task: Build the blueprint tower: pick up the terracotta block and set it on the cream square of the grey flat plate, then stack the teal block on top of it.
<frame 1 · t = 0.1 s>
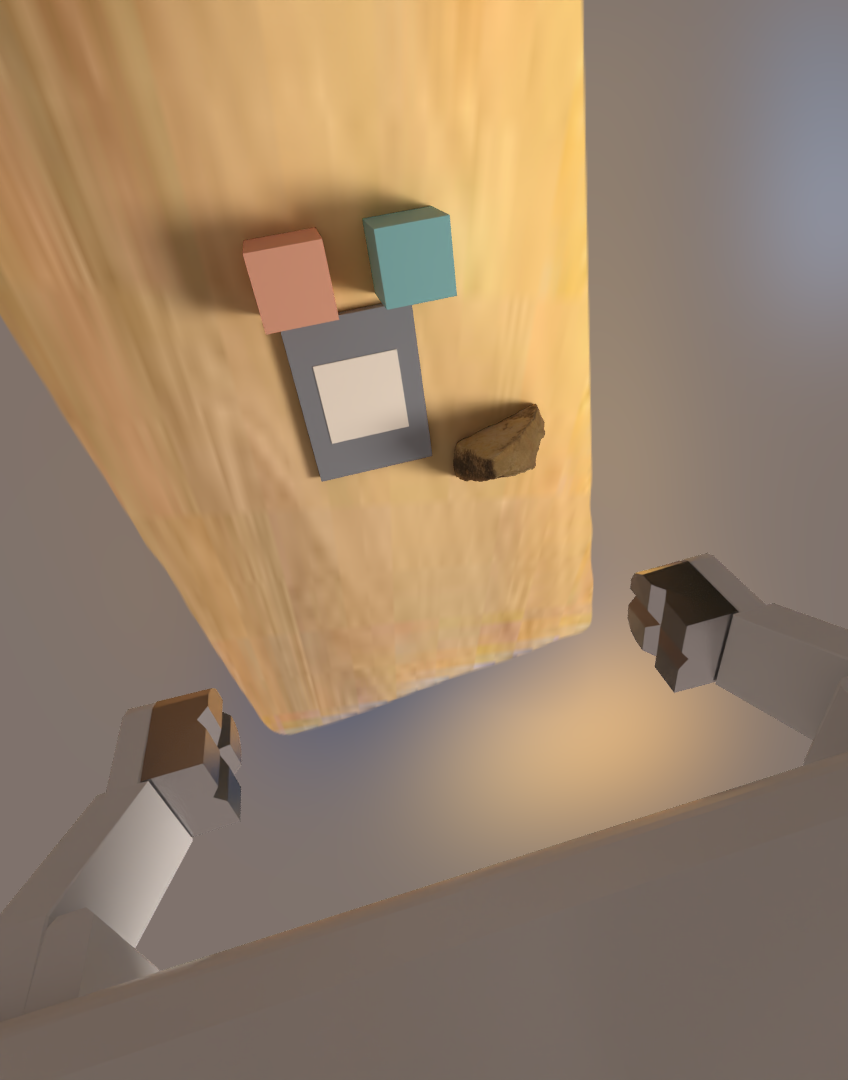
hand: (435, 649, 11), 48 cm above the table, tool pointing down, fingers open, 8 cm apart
terracotta block: (289, 272, 50), on the table
teal block: (402, 250, 52), on the table
grey flat plate: (361, 394, 58), on the table
rock: (495, 437, 65), on the table
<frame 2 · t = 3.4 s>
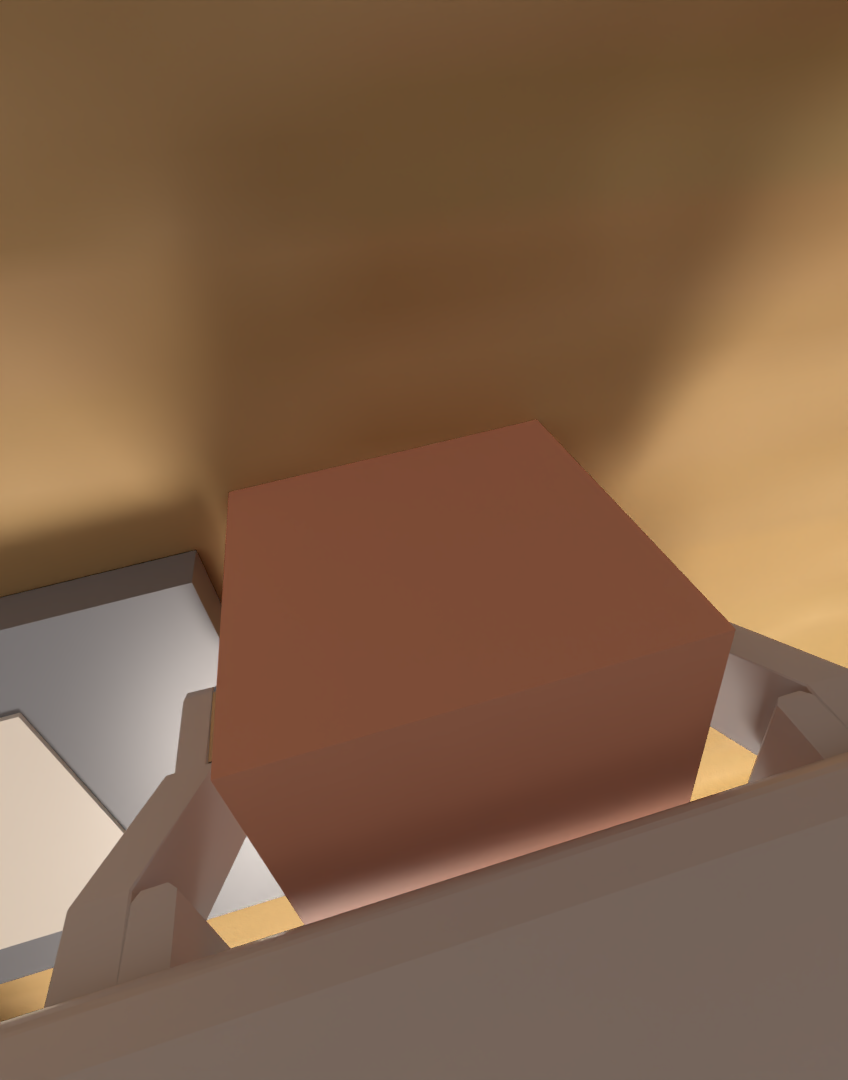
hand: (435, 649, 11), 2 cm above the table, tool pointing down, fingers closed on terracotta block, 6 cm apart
terracotta block: (410, 572, 13), on the table, touching gripper
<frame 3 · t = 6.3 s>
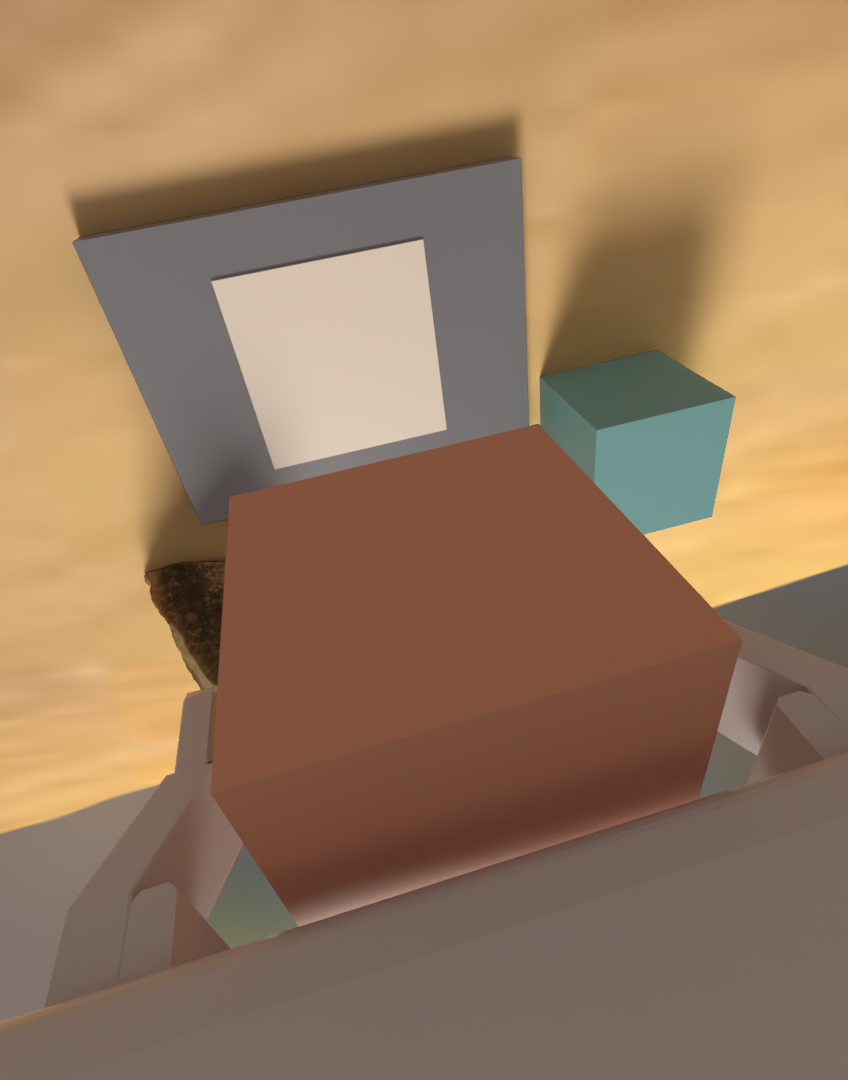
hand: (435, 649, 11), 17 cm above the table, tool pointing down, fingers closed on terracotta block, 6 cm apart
terracotta block: (411, 578, 13), point 15 cm above the table, touching gripper
teal block: (595, 419, 30), on the table
grey flat plate: (339, 355, 25), on the table
rock: (247, 621, 33), on the table
when the fingers open (5 cm above the table, at t = 9.2 s): terracotta block drops 1 cm, resting on grey flat plate.
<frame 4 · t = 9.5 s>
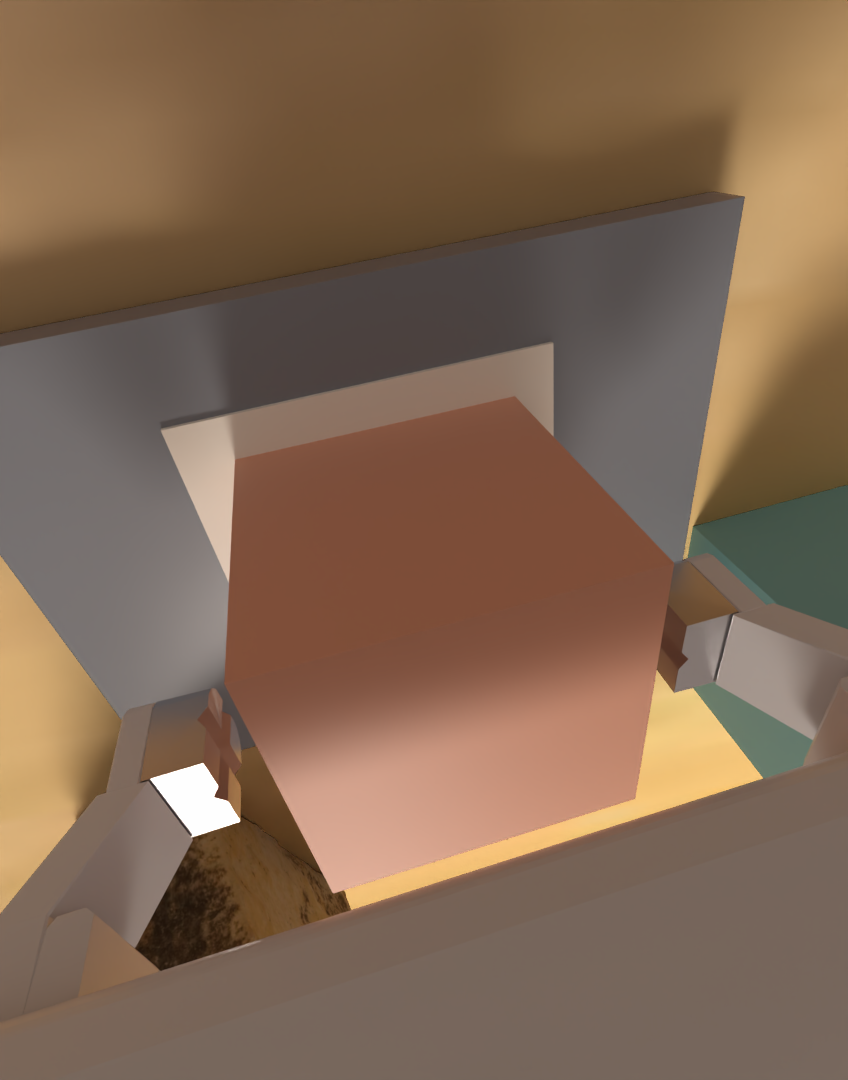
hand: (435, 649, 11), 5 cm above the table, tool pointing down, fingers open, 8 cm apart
terracotta block: (400, 540, 14), point 1 cm above the table, touching grey flat plate
teal block: (760, 574, 20), on the table
grey flat plate: (388, 518, 15), on the table
rock: (237, 853, 22), on the table
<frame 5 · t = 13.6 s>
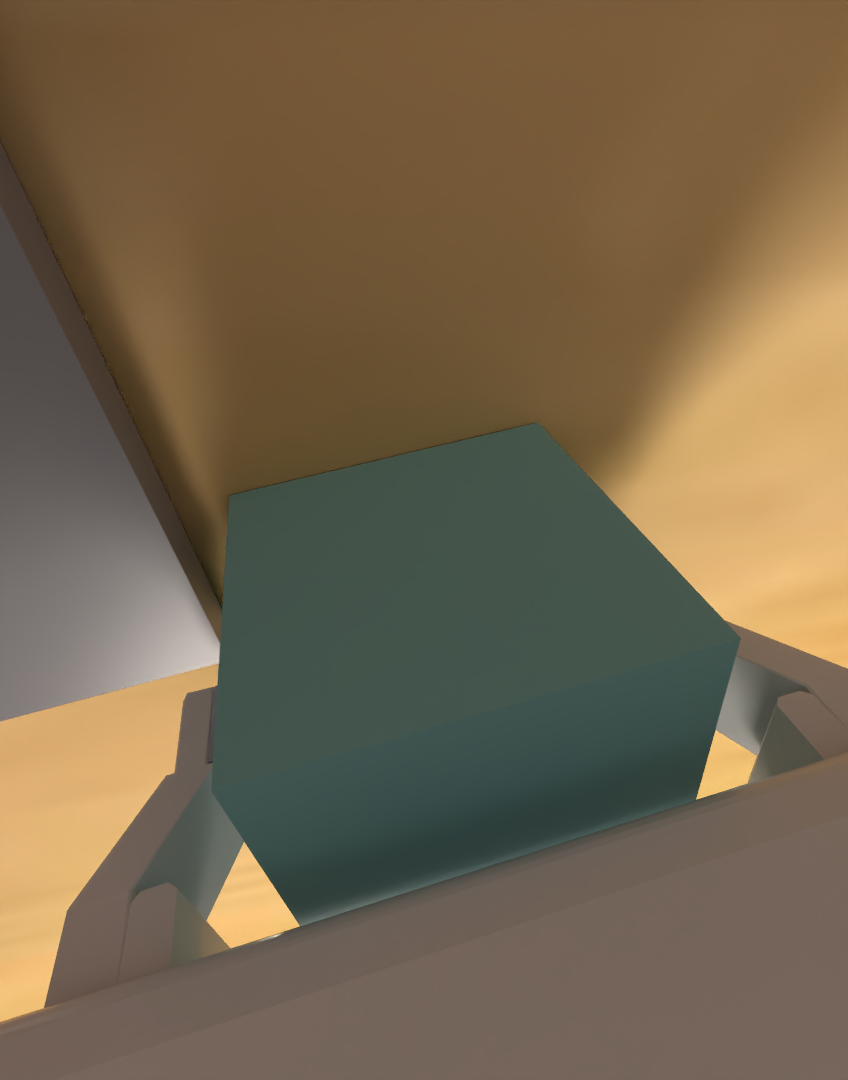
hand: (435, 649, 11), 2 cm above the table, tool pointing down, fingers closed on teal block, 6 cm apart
teal block: (411, 576, 13), on the table, touching gripper
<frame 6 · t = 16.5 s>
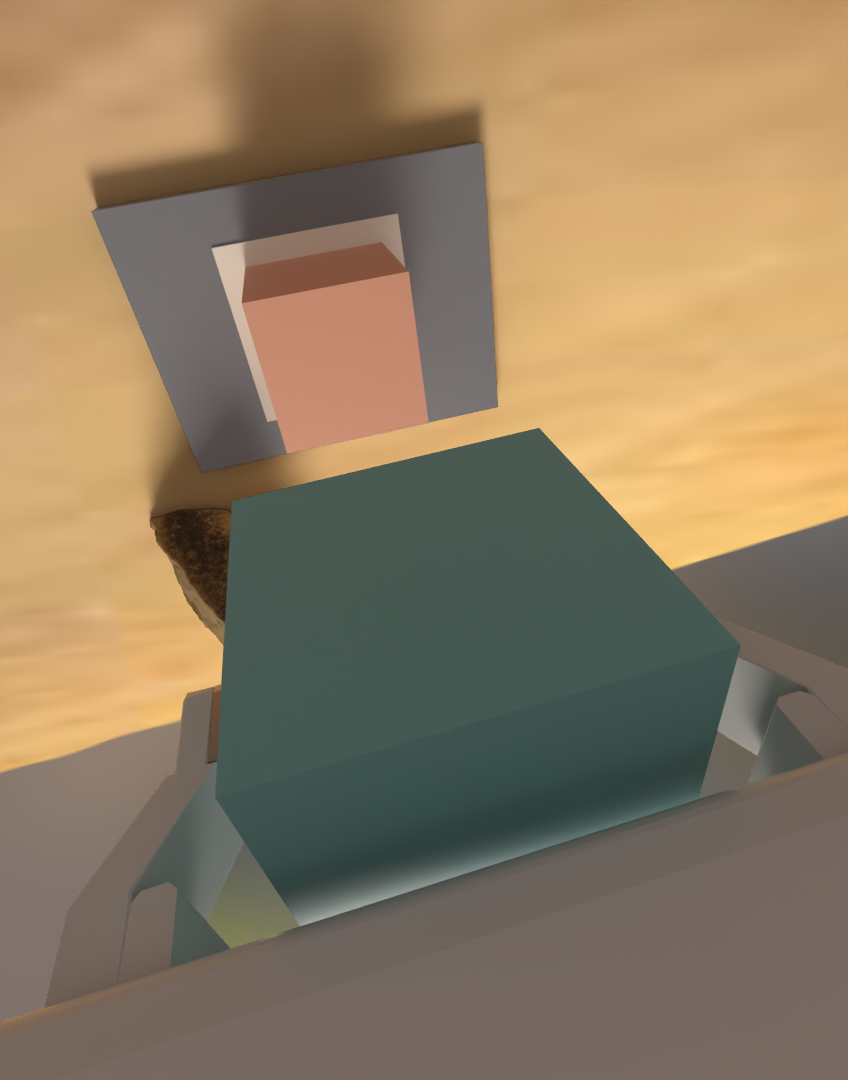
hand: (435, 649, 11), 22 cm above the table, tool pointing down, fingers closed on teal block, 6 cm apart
terracotta block: (329, 324, 27), point 1 cm above the table, touching grey flat plate
teal block: (412, 581, 13), point 20 cm above the table, touching gripper
grey flat plate: (325, 318, 28), on the table
rock: (243, 568, 36), on the table
when the fingers open (10 cm above the table, at t = 19.7 s): teal block drops 1 cm, resting on terracotta block.
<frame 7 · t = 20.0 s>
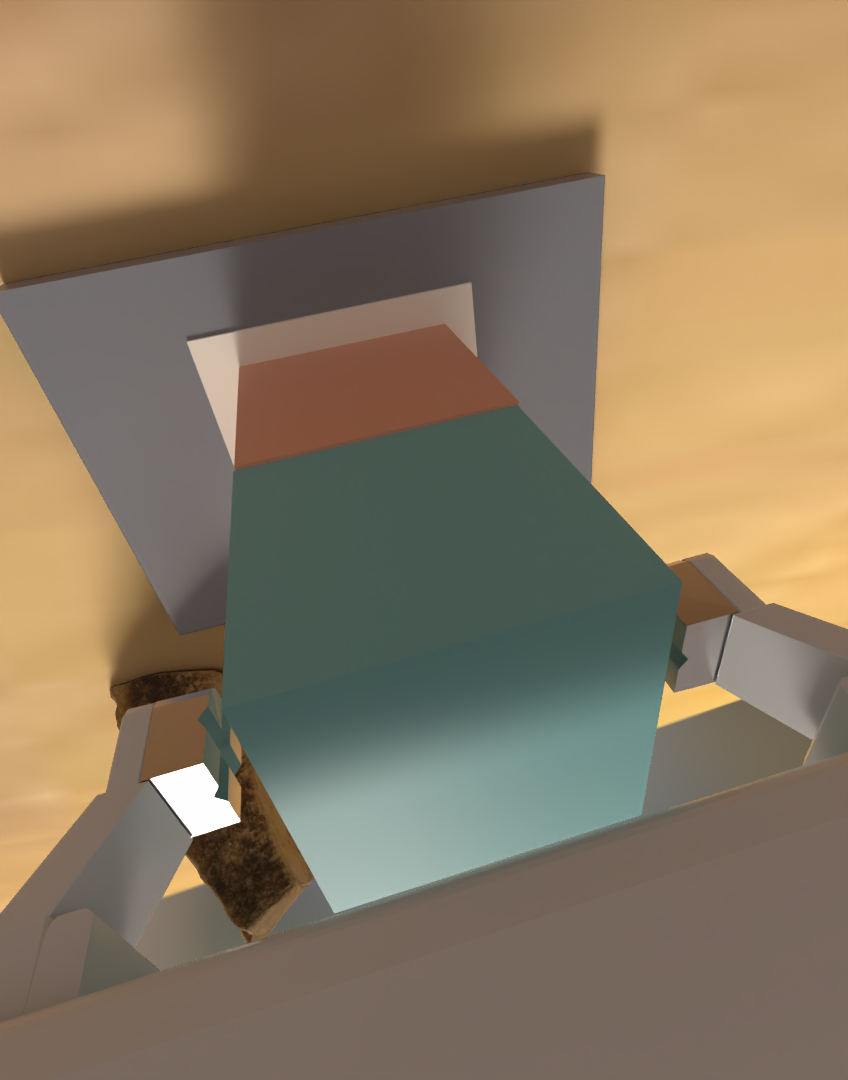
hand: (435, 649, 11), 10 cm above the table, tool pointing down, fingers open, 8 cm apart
terracotta block: (364, 438, 19), point 1 cm above the table, touching grey flat plate, teal block
teal block: (401, 550, 14), point 7 cm above the table, touching terracotta block
grey flat plate: (356, 426, 19), on the table
rock: (239, 730, 27), on the table
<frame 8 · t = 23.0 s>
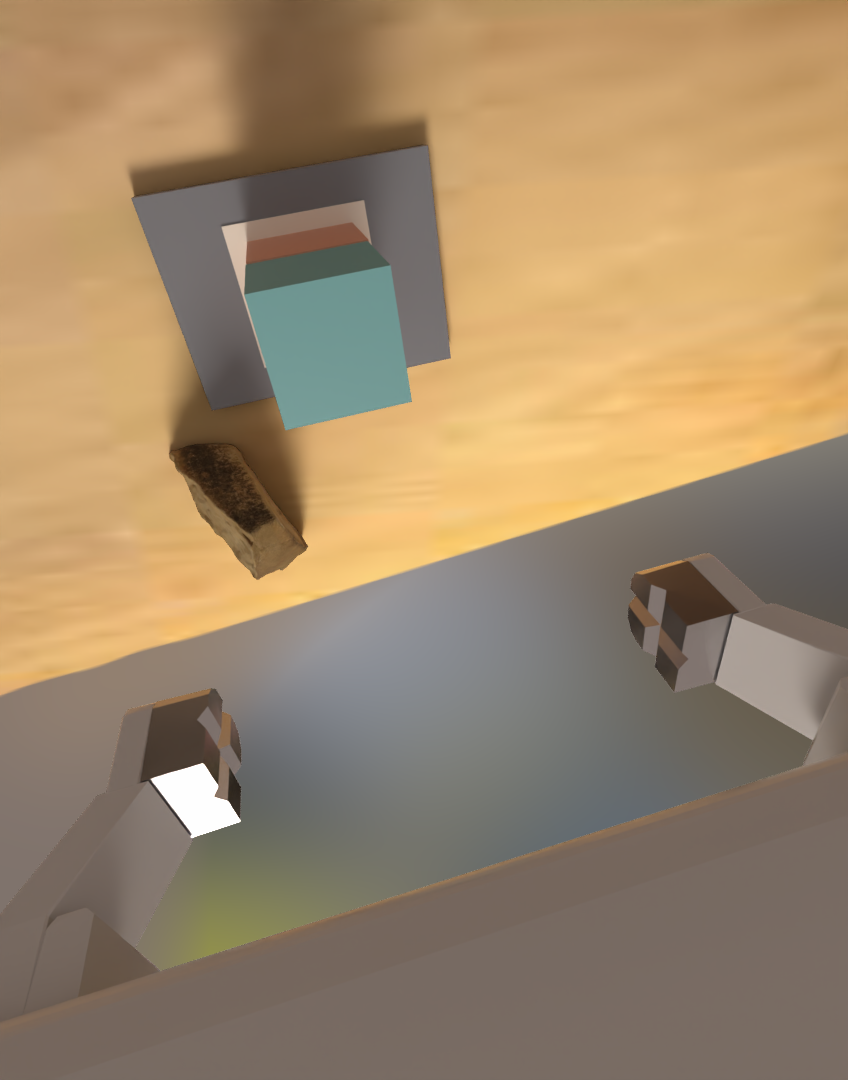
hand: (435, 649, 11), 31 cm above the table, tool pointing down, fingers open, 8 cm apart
terracotta block: (312, 287, 35), point 1 cm above the table, touching grey flat plate, teal block
teal block: (322, 315, 30), point 7 cm above the table, touching terracotta block
grey flat plate: (310, 284, 36), on the table
rock: (245, 498, 43), on the table
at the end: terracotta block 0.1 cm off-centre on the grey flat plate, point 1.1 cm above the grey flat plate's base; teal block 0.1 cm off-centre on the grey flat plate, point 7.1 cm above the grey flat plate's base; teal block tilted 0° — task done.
